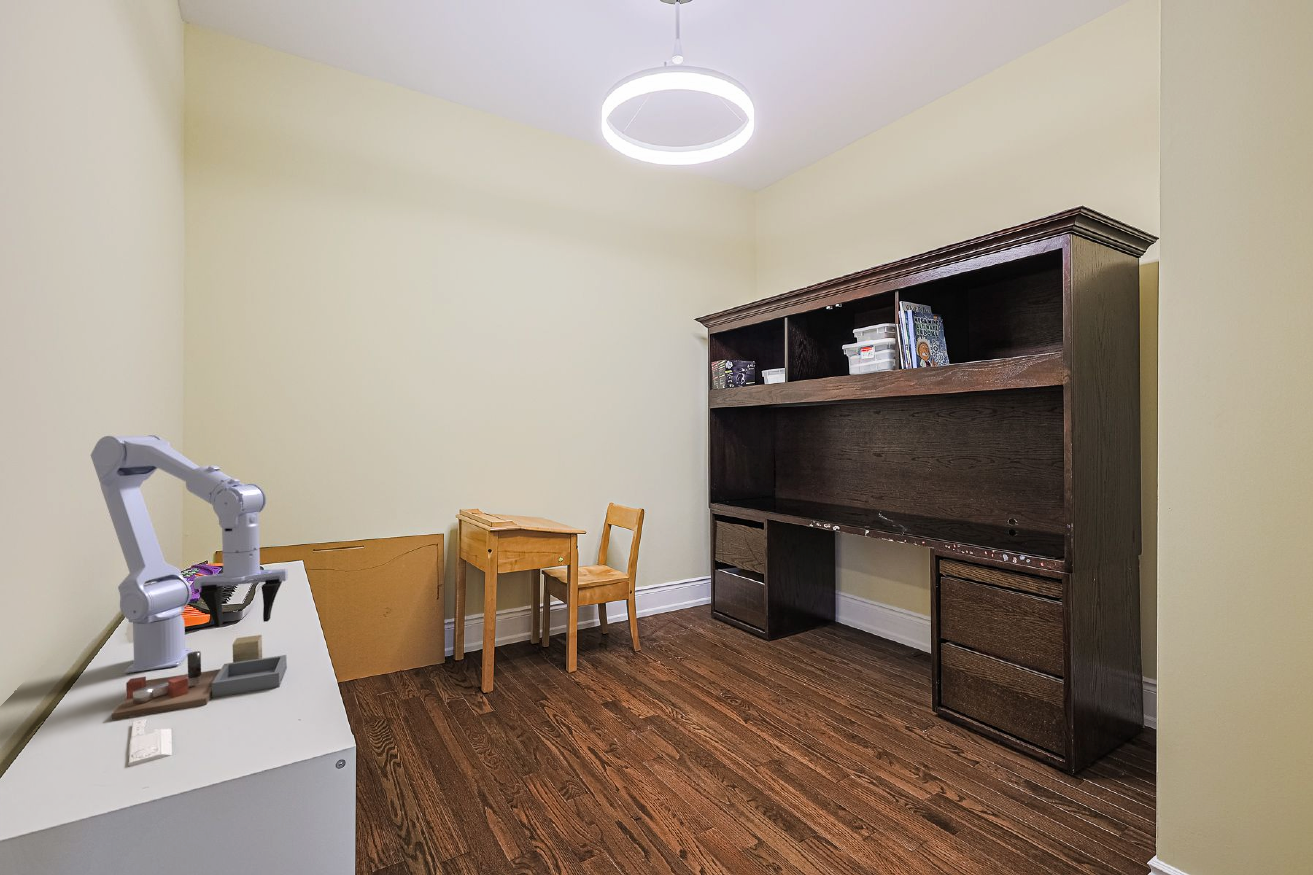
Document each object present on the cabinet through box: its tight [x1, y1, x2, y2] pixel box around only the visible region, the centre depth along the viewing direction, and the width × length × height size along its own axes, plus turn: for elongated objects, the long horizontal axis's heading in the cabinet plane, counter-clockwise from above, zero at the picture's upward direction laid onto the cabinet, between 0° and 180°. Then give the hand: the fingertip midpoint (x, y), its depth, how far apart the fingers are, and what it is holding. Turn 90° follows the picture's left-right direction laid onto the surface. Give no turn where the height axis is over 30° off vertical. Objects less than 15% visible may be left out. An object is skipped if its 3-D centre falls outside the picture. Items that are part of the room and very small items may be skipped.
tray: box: [211, 654, 288, 699], centre depth 109 cm, size 10×10×2 cm
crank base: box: [111, 668, 221, 721], centre depth 104 cm, size 14×12×4 cm
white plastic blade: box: [128, 718, 173, 767], centre depth 89 cm, size 5×15×1 cm, turn 39°
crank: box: [133, 650, 202, 703], centre depth 102 cm, size 9×3×5 cm, turn 147°
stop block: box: [232, 634, 263, 663], centre depth 116 cm, size 4×4×5 cm
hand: (243, 622), depth 115 cm, fingers open, 7 cm apart
